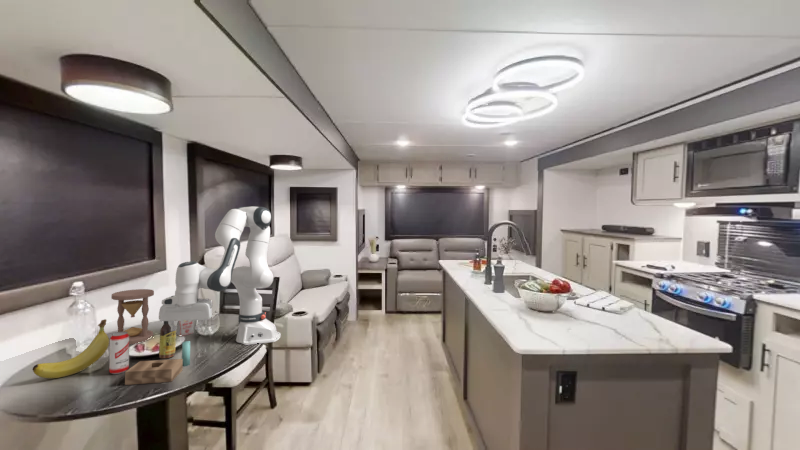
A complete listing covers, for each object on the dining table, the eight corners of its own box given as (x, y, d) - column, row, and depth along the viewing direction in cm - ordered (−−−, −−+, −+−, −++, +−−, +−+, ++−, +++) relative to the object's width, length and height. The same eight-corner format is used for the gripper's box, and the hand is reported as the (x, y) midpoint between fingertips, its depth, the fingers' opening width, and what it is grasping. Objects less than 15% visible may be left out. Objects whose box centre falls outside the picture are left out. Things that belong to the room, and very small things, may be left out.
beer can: (132, 369, 141) (133, 332, 141) (115, 376, 135) (116, 336, 135) (122, 367, 143) (123, 330, 143) (105, 373, 137) (106, 334, 137)
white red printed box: (176, 335, 183) (177, 317, 183) (189, 332, 189) (190, 314, 189) (180, 336, 181) (180, 318, 181) (193, 333, 187) (193, 315, 187)
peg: (191, 363, 148) (191, 340, 148) (188, 366, 146) (188, 343, 145) (183, 363, 148) (184, 341, 148) (180, 366, 145) (181, 343, 145)
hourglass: (101, 343, 169) (102, 294, 169) (136, 332, 186) (136, 288, 186) (128, 347, 165) (129, 297, 165) (161, 335, 182) (162, 290, 182)
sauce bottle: (166, 360, 151) (167, 316, 151) (155, 358, 152) (156, 315, 152) (179, 354, 158) (179, 312, 157) (168, 353, 159) (168, 311, 159)
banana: (34, 386, 125) (35, 333, 125) (30, 382, 128) (31, 330, 128) (110, 365, 144) (111, 319, 144) (105, 362, 147) (106, 317, 147)
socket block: (182, 370, 141) (182, 358, 141) (171, 381, 131) (171, 369, 131) (139, 373, 138) (139, 361, 138) (124, 384, 128) (125, 371, 128)
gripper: (215, 297, 152) (213, 327, 151) (164, 297, 147) (163, 328, 147) (210, 300, 145) (208, 331, 145) (157, 300, 141) (156, 333, 141)
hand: (185, 330), depth 146 cm, fingers open, 8 cm apart
